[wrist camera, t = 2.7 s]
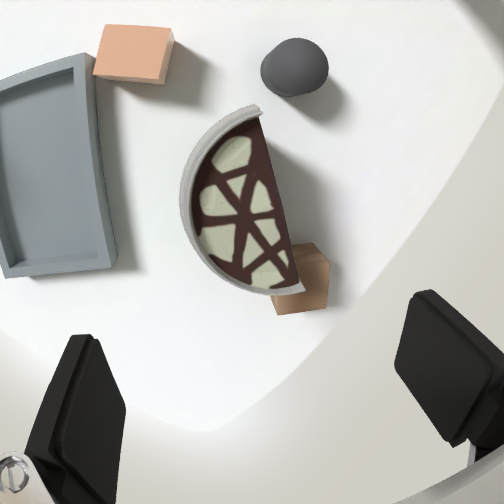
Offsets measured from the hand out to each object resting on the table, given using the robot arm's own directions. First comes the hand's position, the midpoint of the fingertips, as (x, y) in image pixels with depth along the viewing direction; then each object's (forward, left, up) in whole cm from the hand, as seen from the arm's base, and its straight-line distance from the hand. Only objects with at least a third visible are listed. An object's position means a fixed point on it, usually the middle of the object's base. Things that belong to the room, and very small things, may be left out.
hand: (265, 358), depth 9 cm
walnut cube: (-6, +8, -21) cm, 23 cm away
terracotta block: (+6, -12, -21) cm, 25 cm away
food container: (0, 0, -21) cm, 21 cm away
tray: (+16, -4, -20) cm, 26 cm away
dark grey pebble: (-6, -10, -20) cm, 24 cm away
